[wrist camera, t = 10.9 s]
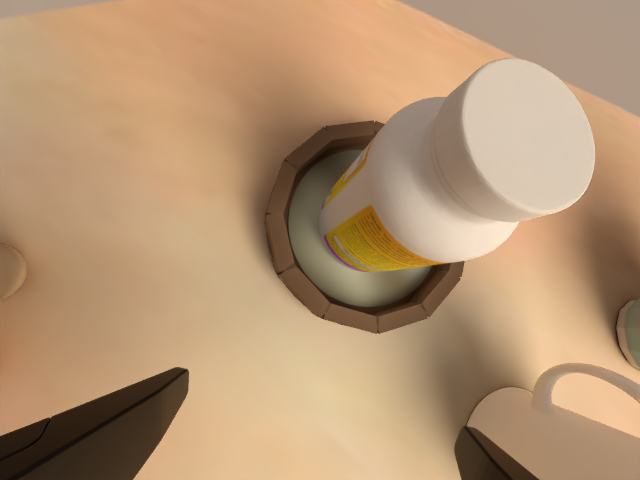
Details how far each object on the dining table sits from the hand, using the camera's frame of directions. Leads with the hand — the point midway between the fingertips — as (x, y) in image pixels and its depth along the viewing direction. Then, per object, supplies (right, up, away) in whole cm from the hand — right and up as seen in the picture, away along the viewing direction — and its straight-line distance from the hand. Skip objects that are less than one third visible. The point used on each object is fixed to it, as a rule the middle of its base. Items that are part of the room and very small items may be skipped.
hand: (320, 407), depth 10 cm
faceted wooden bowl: (+3, +6, +12) cm, 14 cm away
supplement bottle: (+3, +6, +11) cm, 13 cm away
